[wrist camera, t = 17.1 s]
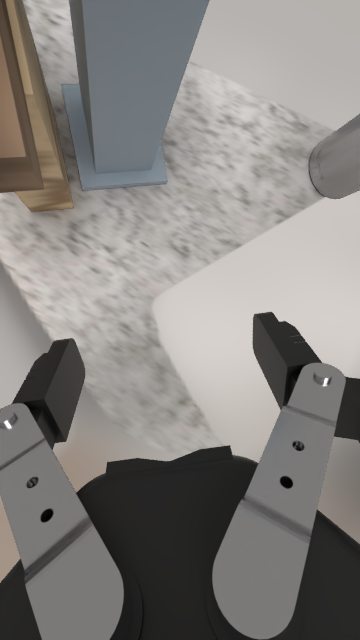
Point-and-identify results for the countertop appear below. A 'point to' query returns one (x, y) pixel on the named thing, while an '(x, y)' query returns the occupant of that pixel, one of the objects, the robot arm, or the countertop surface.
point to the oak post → (39, 119)
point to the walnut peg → (15, 120)
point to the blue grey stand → (127, 85)
